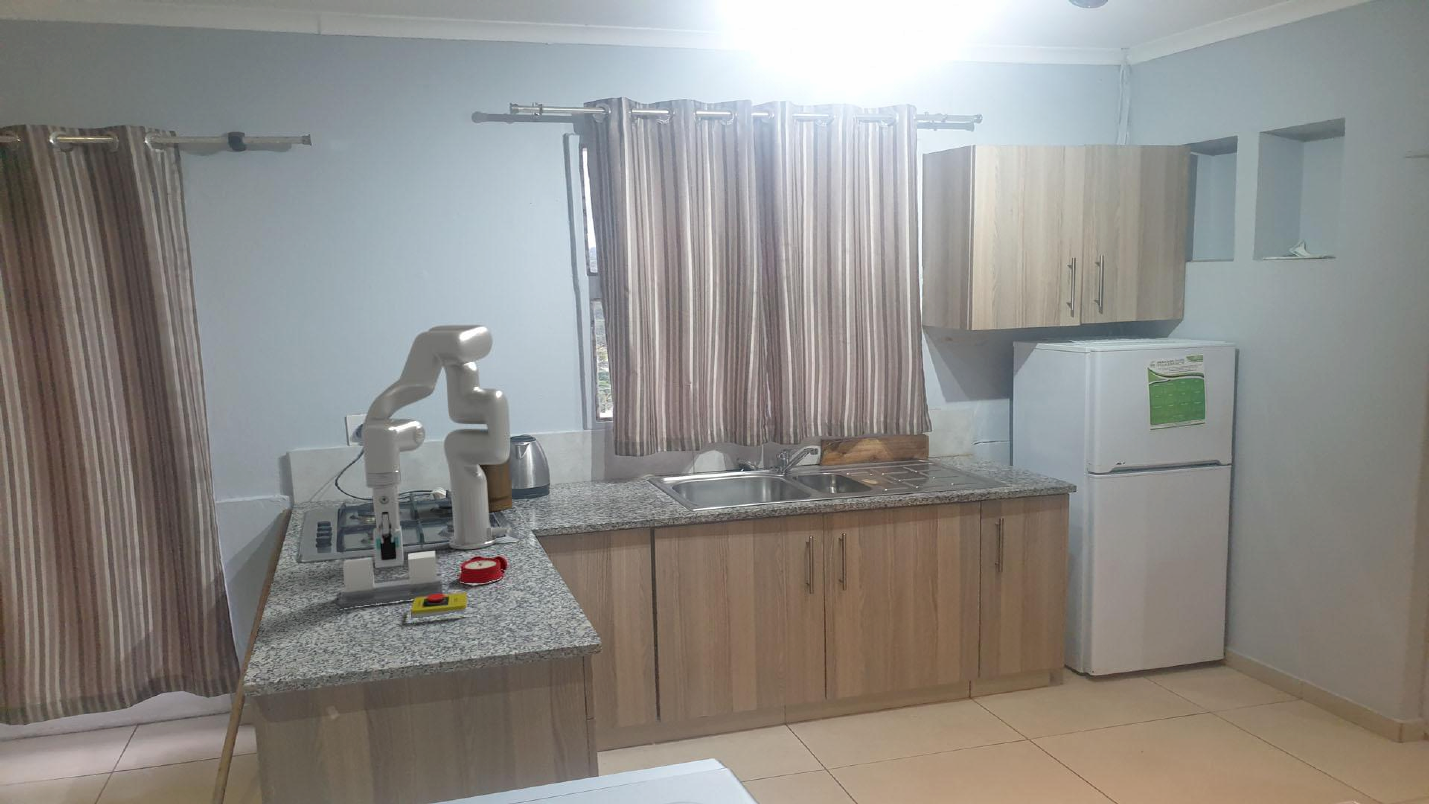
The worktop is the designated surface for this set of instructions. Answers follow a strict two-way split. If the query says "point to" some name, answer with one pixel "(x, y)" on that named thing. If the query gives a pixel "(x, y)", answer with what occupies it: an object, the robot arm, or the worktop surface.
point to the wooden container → (498, 486)
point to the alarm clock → (482, 569)
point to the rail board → (389, 592)
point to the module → (377, 549)
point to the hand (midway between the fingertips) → (389, 555)
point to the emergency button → (438, 605)
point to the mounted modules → (362, 576)
